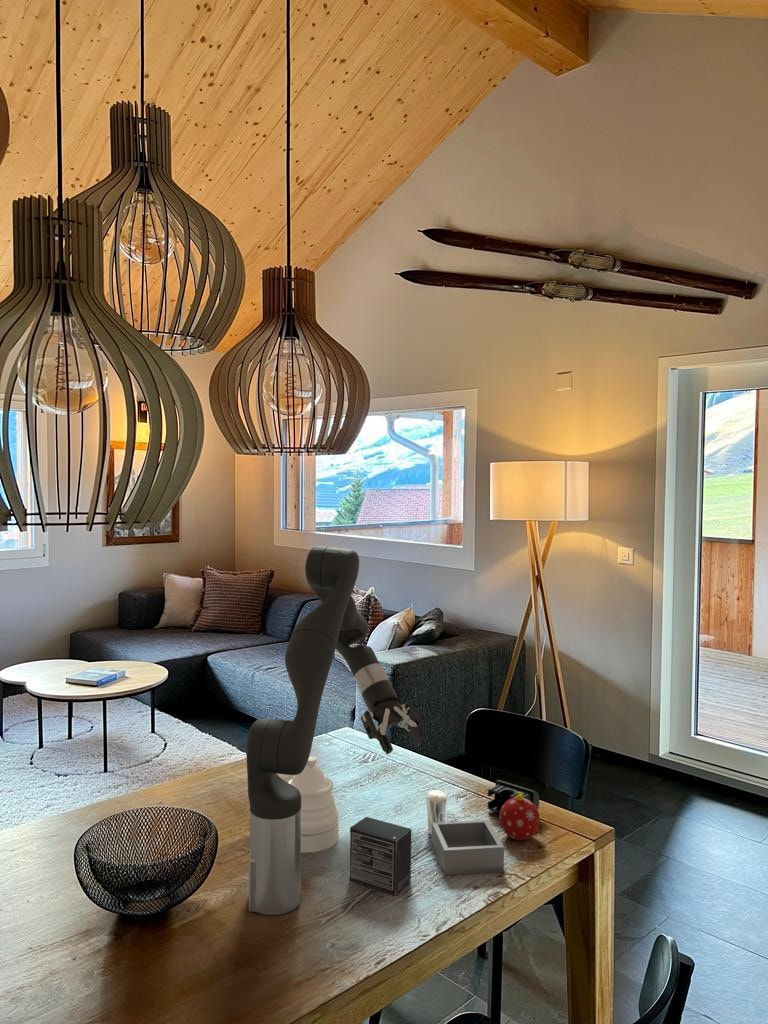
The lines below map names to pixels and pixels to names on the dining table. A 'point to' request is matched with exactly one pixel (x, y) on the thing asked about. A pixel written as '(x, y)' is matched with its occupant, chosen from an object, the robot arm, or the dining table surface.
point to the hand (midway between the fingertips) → (404, 748)
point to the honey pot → (316, 808)
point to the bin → (467, 847)
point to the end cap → (508, 796)
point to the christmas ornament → (519, 818)
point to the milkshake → (435, 807)
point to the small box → (380, 855)
